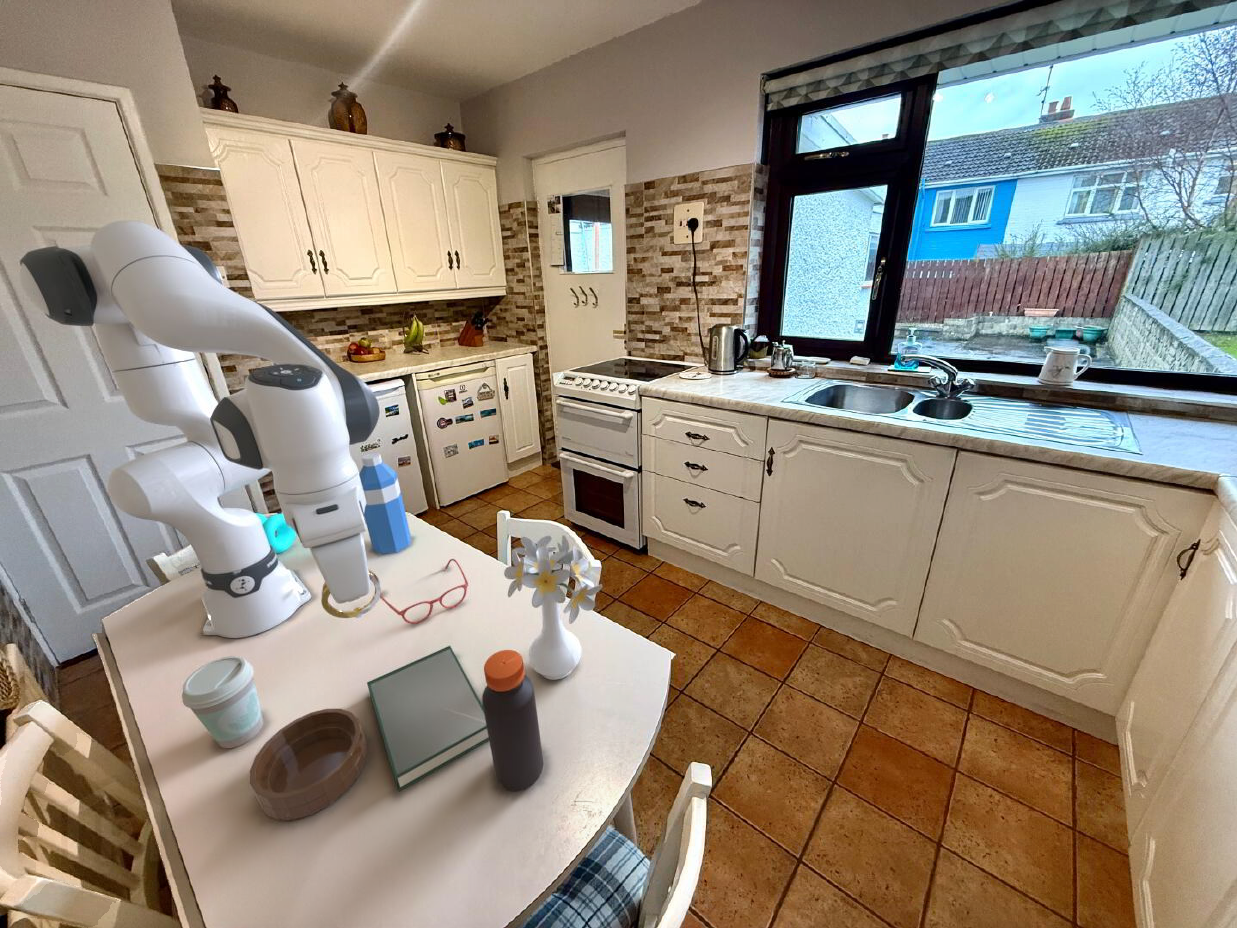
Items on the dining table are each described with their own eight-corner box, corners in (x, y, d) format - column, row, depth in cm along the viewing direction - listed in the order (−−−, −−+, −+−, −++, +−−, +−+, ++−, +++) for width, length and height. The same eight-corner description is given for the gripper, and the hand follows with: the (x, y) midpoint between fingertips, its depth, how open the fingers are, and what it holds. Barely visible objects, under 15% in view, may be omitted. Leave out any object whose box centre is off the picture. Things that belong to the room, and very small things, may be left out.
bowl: (260, 763, 71) (249, 740, 69) (359, 716, 78) (352, 693, 77) (262, 845, 61) (249, 820, 59) (376, 782, 68) (368, 758, 66)
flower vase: (576, 718, 77) (566, 590, 67) (498, 667, 87) (479, 549, 77) (623, 666, 87) (620, 547, 77) (548, 625, 97) (536, 516, 87)
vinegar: (517, 739, 74) (501, 637, 66) (553, 759, 71) (541, 655, 63) (485, 777, 69) (464, 671, 61) (522, 801, 65) (505, 693, 58)
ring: (329, 631, 64) (312, 581, 60) (330, 617, 66) (313, 568, 63) (386, 614, 66) (373, 565, 63) (385, 600, 69) (372, 553, 66)
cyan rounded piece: (268, 538, 131) (257, 506, 127) (303, 540, 130) (292, 507, 126) (238, 560, 122) (224, 525, 118) (275, 561, 121) (262, 526, 117)
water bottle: (365, 553, 123) (340, 462, 113) (387, 533, 132) (365, 448, 122) (398, 555, 122) (376, 464, 112) (418, 536, 130) (399, 449, 120)
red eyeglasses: (396, 636, 95) (390, 616, 93) (374, 596, 107) (369, 577, 105) (479, 598, 105) (475, 579, 103) (451, 566, 117) (447, 548, 115)
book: (370, 695, 82) (366, 682, 81) (452, 657, 90) (450, 645, 88) (398, 791, 67) (394, 777, 66) (494, 736, 74) (492, 723, 73)
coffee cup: (222, 767, 71) (191, 708, 66) (197, 740, 75) (167, 682, 71) (284, 723, 78) (260, 666, 73) (258, 700, 82) (234, 645, 77)
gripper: (288, 478, 66) (316, 564, 71) (300, 543, 50) (334, 646, 55) (340, 467, 69) (363, 549, 74) (366, 524, 53) (393, 623, 59)
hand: (351, 591), depth 65 cm, fingers closed on ring, 2 cm apart
